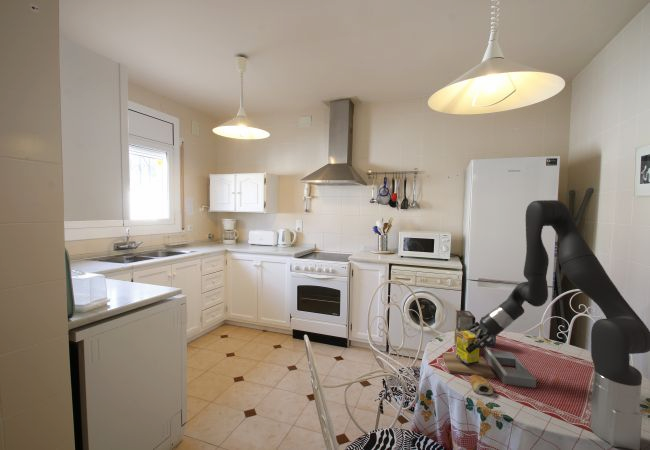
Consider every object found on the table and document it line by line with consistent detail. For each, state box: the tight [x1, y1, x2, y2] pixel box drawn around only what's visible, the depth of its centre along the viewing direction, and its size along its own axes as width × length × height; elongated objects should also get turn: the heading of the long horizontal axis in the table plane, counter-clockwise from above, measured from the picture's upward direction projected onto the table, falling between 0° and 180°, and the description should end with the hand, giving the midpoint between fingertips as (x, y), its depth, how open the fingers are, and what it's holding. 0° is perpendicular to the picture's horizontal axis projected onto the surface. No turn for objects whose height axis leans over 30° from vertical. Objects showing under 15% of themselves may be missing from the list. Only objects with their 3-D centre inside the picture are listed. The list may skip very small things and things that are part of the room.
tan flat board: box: [441, 352, 496, 379], centre depth 115 cm, size 14×16×1 cm
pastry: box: [469, 375, 494, 395], centre depth 102 cm, size 9×7×4 cm
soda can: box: [479, 316, 497, 348], centre depth 135 cm, size 7×7×12 cm
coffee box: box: [454, 309, 476, 348], centre depth 130 cm, size 9×6×16 cm
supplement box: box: [456, 330, 480, 365], centre depth 115 cm, size 6×6×11 cm
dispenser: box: [484, 346, 537, 389], centre depth 112 cm, size 20×10×4 cm, turn 169°
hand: (464, 346), depth 115 cm, fingers closed on supplement box, 8 cm apart
